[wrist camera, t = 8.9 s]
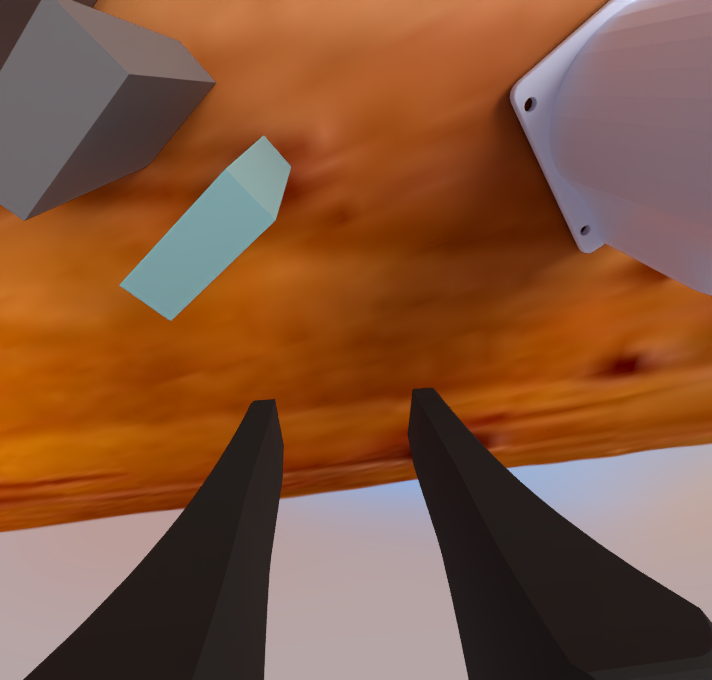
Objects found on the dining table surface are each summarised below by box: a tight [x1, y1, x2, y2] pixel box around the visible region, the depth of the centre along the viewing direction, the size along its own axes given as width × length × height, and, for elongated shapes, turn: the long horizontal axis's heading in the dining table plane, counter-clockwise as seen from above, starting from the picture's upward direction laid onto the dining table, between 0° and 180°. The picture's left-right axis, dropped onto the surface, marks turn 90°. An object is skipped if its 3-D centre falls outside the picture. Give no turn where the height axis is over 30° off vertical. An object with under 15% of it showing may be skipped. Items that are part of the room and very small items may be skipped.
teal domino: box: [120, 135, 291, 321], centre depth 13 cm, size 2×4×8 cm, turn 130°
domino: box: [0, 0, 216, 221], centre depth 11 cm, size 2×4×8 cm, turn 130°
